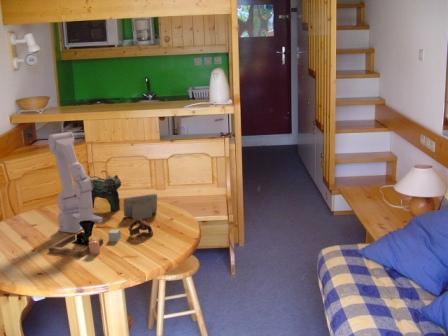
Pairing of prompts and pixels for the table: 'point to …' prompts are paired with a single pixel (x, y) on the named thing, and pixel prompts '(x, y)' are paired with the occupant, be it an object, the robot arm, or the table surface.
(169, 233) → the table surface
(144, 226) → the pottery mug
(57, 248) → the bay
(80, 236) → the black boxy piece
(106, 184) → the power drill
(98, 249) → the pinkish-brown rounded block
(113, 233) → the light gray block
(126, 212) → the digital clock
